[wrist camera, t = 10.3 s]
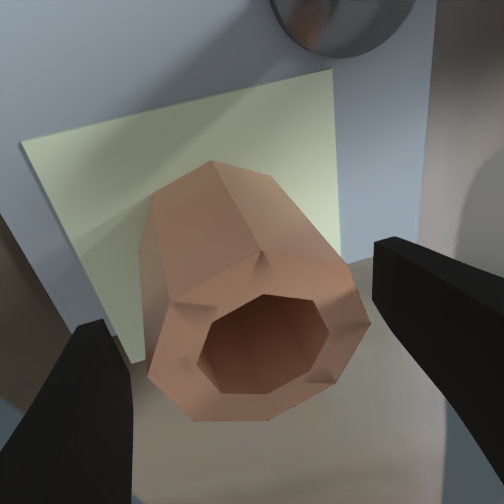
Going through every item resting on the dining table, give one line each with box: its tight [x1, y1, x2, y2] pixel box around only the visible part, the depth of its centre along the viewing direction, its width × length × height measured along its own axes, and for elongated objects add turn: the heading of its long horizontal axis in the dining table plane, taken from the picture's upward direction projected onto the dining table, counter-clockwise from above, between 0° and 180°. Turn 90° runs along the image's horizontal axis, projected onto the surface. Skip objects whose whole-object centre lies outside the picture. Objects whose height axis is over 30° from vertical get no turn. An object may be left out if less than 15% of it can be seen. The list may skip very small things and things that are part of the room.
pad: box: [21, 68, 341, 364], centre depth 14 cm, size 9×9×1 cm
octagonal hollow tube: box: [138, 160, 371, 421], centre depth 12 cm, size 5×5×6 cm
